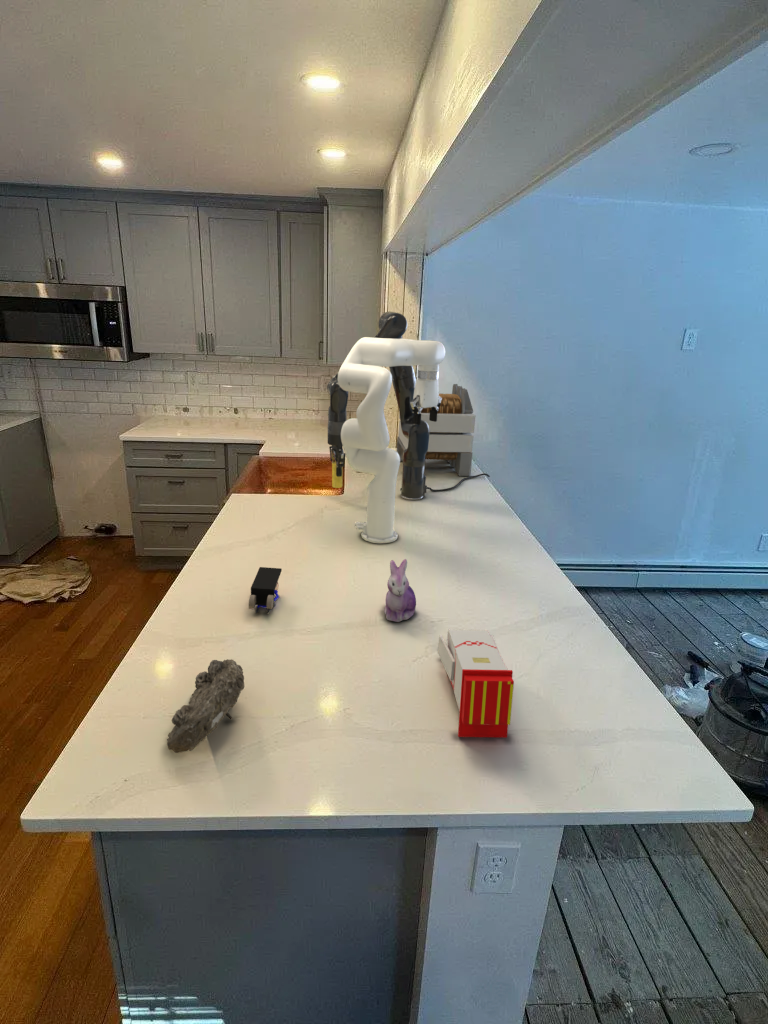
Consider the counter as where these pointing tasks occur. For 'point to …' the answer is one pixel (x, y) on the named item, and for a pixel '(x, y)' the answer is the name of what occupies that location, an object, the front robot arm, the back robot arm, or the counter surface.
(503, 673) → the toy
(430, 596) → the counter surface
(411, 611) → the figurine
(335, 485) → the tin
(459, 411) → the transformer
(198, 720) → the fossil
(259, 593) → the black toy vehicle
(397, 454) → the front robot arm
